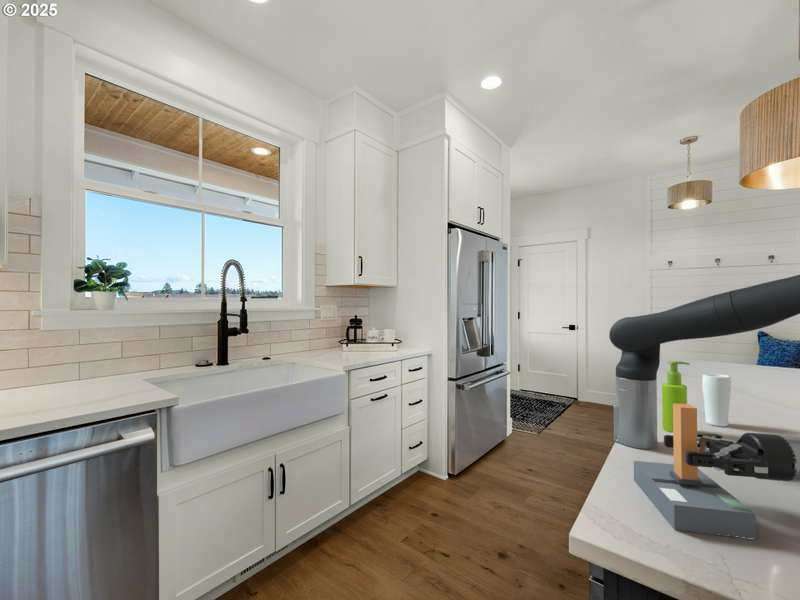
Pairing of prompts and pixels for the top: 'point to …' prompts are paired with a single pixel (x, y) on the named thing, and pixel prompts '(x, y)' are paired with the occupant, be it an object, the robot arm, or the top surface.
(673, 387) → the soap dispenser
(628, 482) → the top surface
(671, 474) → the handle
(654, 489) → the switch box
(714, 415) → the drinking glass
